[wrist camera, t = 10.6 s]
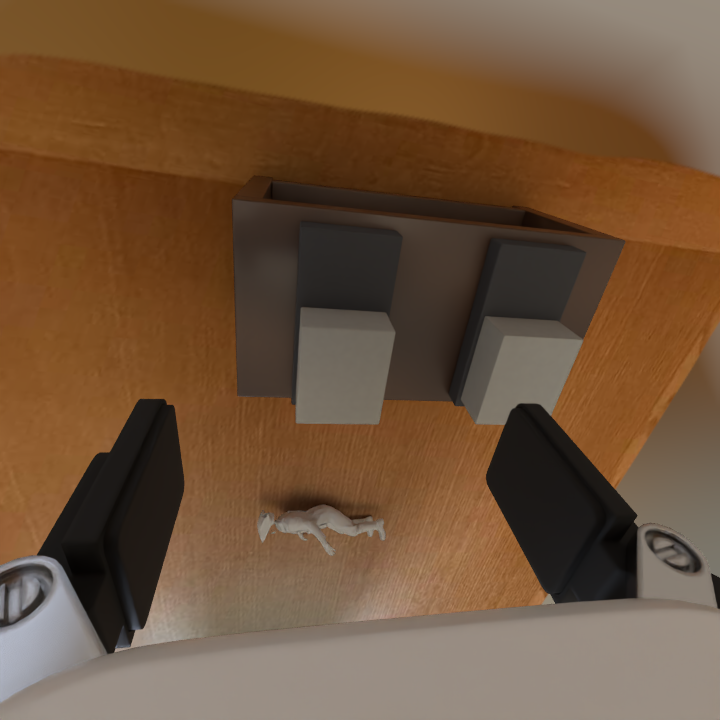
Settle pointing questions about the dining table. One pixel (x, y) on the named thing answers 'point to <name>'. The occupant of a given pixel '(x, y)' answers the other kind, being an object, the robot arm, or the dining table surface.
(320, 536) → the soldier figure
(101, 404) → the dining table surface
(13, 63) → the dining table surface
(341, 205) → the shoe rack
